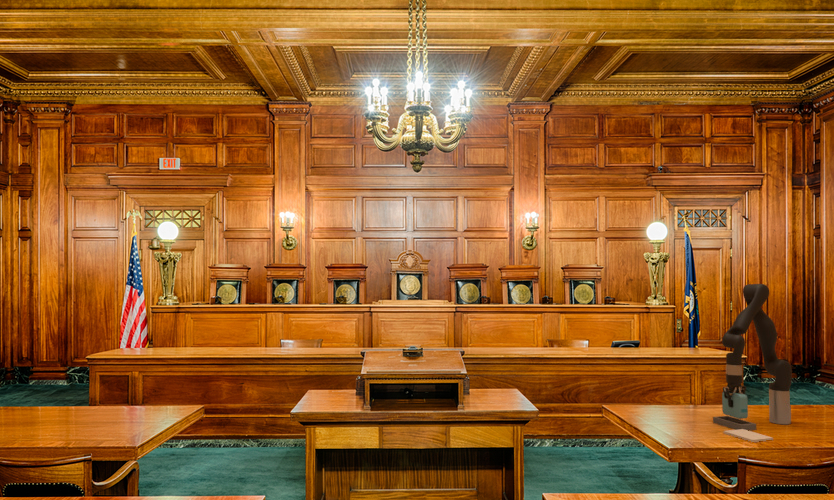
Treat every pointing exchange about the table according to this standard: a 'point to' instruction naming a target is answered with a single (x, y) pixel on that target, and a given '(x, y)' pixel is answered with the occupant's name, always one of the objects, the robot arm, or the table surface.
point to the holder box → (734, 423)
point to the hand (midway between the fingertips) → (734, 406)
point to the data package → (736, 406)
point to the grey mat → (747, 435)
